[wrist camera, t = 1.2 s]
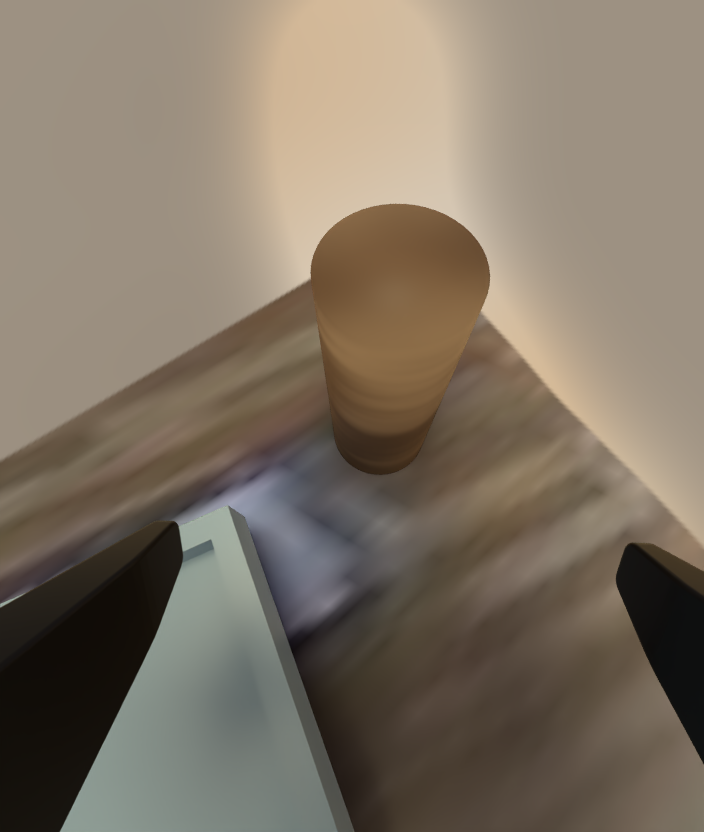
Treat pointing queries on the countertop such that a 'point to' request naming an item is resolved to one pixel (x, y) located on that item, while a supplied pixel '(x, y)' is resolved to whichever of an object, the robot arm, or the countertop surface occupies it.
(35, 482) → the countertop surface
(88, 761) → the robot arm
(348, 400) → the walnut post
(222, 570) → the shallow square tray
